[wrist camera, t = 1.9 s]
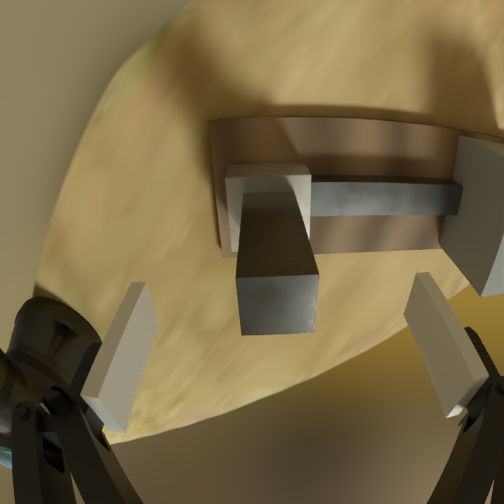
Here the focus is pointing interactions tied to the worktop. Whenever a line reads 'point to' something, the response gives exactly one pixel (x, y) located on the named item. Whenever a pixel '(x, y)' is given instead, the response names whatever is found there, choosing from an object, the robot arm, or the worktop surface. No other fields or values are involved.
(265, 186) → the carriage
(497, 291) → the end cabinet
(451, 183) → the rail
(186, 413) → the worktop surface
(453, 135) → the base board
